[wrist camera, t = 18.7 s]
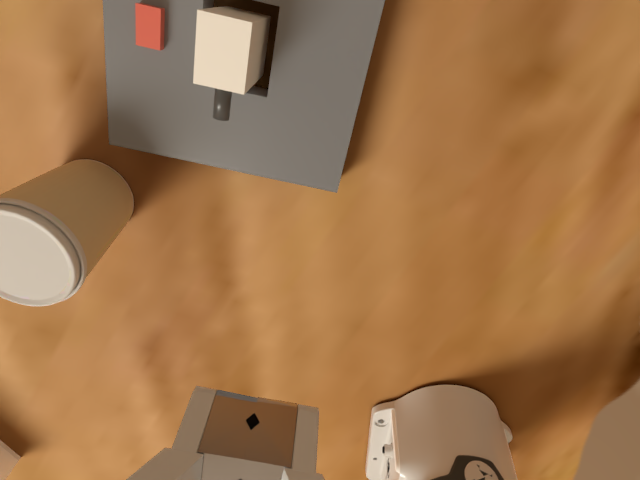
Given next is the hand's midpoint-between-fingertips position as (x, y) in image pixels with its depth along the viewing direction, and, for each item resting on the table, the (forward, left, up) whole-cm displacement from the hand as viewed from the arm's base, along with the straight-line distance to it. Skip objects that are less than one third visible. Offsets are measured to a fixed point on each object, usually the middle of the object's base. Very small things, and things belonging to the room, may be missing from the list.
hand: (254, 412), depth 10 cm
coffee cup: (-13, +20, -31) cm, 39 cm away
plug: (+4, +7, -31) cm, 32 cm away
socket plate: (+4, +7, -31) cm, 32 cm away
